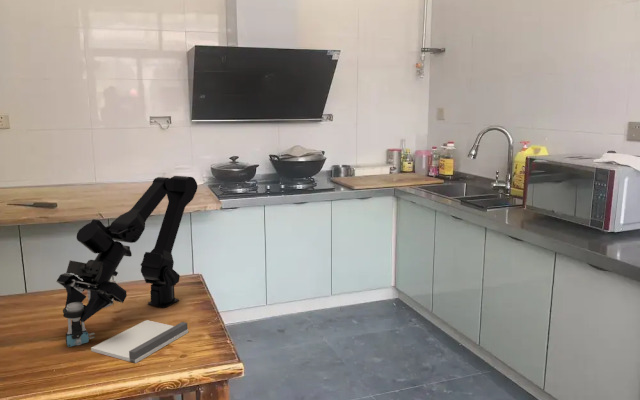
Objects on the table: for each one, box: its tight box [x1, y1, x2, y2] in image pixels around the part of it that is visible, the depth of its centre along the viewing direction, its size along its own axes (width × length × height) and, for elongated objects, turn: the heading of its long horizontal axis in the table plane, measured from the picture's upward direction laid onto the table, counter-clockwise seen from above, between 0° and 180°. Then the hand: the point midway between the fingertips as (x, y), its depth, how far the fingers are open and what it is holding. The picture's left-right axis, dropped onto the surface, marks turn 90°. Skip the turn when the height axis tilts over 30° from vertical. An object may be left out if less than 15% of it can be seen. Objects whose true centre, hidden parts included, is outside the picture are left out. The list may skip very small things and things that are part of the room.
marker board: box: [90, 319, 189, 364], centre depth 126 cm, size 18×14×2 cm
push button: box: [62, 301, 96, 348], centre depth 124 cm, size 7×5×10 cm
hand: (73, 319), depth 123 cm, fingers closed on push button, 5 cm apart
